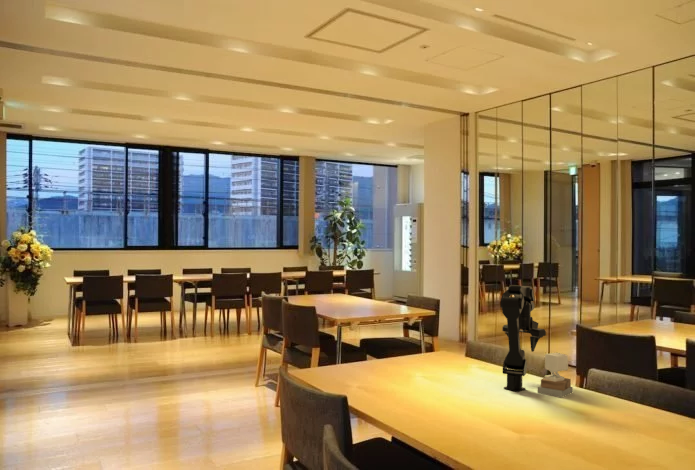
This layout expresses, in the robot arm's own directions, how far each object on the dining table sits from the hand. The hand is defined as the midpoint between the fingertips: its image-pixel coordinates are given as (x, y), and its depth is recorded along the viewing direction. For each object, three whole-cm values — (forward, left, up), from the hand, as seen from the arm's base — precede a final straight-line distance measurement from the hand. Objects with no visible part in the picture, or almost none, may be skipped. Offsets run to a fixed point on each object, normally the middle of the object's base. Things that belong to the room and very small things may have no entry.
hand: (523, 349), depth 251 cm
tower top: (-9, -20, -11) cm, 24 cm away
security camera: (-9, -20, -8) cm, 23 cm away
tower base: (-9, -20, -14) cm, 26 cm away
